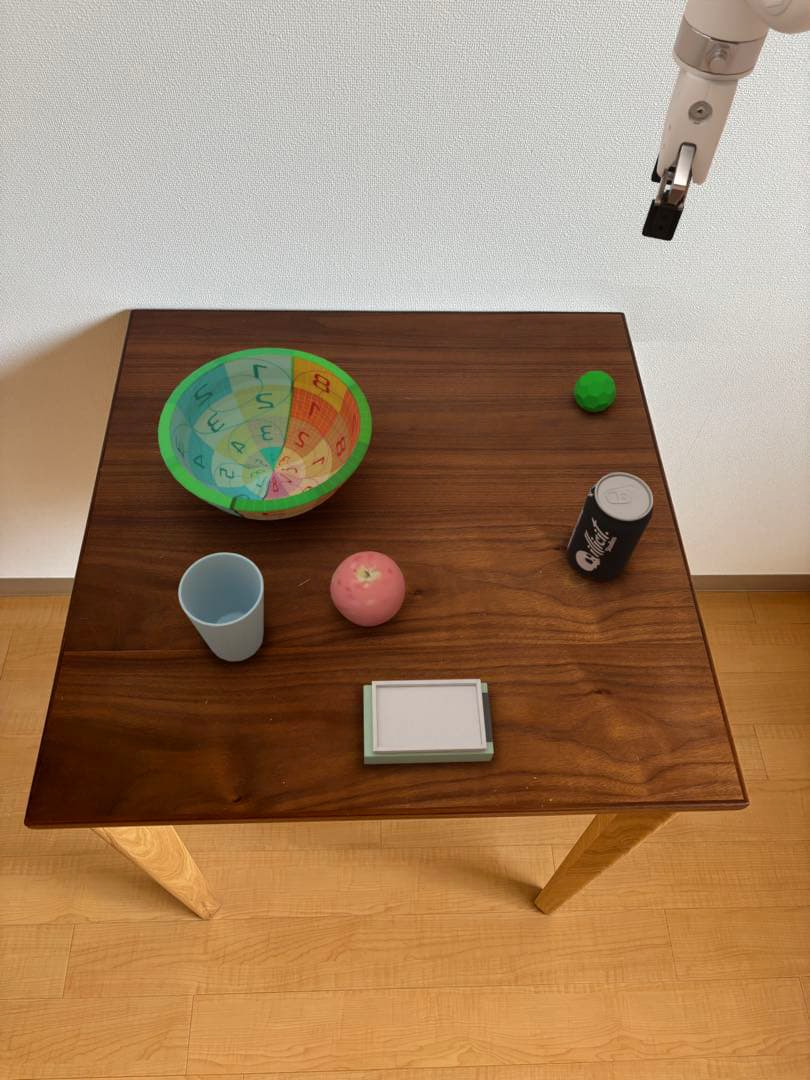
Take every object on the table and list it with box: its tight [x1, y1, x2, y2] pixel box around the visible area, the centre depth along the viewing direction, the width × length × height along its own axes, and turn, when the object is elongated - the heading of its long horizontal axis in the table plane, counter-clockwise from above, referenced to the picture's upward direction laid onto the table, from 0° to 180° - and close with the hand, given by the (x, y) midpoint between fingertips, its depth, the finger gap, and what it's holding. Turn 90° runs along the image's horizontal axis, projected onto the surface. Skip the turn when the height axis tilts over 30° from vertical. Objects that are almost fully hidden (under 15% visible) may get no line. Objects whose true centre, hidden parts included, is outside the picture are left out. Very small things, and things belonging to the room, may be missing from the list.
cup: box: [178, 552, 265, 662], centre depth 79 cm, size 8×8×10 cm
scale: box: [363, 678, 495, 765], centre depth 77 cm, size 12×7×4 cm, turn 92°
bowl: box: [157, 347, 373, 521], centre depth 90 cm, size 22×22×10 cm
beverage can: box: [566, 471, 654, 582], centre depth 85 cm, size 7×7×12 cm
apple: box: [329, 550, 406, 627], centre depth 82 cm, size 7×7×8 cm
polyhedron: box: [573, 370, 617, 413], centre depth 100 cm, size 5×5×5 cm
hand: (660, 209), depth 88 cm, fingers open, 9 cm apart
